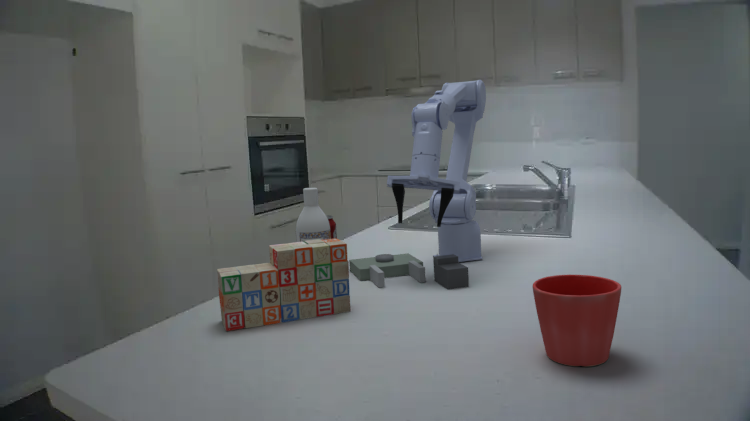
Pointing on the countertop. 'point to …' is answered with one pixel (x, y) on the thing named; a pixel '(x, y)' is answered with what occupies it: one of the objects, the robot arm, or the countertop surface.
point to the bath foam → (312, 219)
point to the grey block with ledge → (450, 272)
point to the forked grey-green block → (387, 268)
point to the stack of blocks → (286, 285)
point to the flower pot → (577, 317)
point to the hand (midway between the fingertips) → (419, 224)
